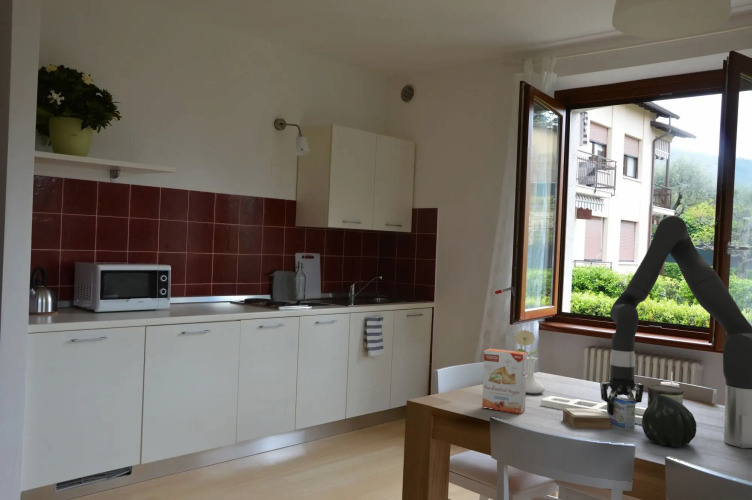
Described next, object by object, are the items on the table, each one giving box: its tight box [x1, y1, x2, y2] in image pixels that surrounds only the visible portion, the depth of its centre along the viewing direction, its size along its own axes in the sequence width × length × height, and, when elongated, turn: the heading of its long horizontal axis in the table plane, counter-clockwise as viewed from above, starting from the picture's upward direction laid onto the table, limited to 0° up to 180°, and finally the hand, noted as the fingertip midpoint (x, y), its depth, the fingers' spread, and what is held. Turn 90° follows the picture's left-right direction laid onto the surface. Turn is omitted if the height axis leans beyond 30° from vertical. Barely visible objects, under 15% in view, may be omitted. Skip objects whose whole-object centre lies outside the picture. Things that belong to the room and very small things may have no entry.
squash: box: [641, 394, 697, 448], centre depth 186 cm, size 14×15×15 cm
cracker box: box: [481, 347, 528, 415], centre depth 221 cm, size 14×6×21 cm, turn 62°
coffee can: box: [647, 384, 684, 407], centre depth 198 cm, size 10×10×14 cm
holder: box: [540, 395, 647, 425], centre depth 223 cm, size 45×18×3 cm, turn 50°
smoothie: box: [659, 371, 680, 388], centre depth 230 cm, size 6×6×14 cm
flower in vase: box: [514, 329, 546, 394], centre depth 253 cm, size 13×11×25 cm
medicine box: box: [607, 395, 637, 429], centre depth 206 cm, size 8×4×9 cm, turn 25°
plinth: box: [562, 408, 612, 430], centre depth 205 cm, size 10×12×4 cm
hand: (620, 414), depth 206 cm, fingers open, 6 cm apart
